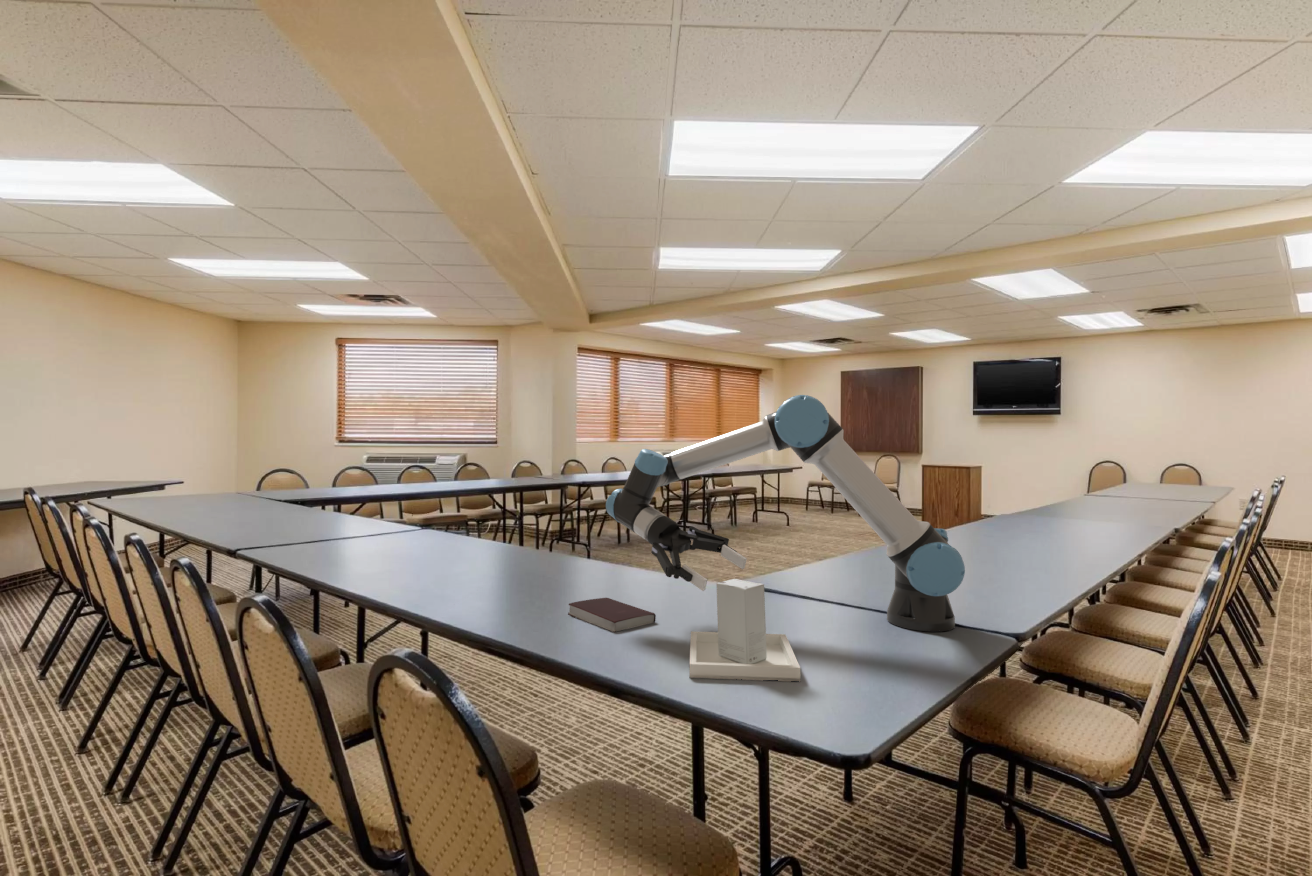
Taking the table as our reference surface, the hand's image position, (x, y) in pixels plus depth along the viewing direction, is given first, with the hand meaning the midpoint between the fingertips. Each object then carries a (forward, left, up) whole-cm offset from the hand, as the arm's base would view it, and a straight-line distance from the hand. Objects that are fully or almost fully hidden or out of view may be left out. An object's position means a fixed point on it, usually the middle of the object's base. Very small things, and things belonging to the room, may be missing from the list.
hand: (725, 574), depth 137 cm
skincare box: (-3, +12, -14) cm, 19 cm away
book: (+27, -15, -15) cm, 35 cm away
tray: (-3, +12, -14) cm, 19 cm away
